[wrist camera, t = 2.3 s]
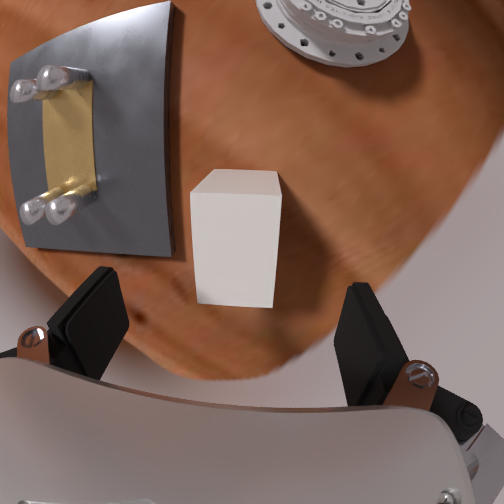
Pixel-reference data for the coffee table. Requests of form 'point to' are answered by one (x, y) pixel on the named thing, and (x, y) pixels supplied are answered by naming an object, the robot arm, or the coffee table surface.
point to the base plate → (95, 136)
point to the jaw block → (236, 237)
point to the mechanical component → (338, 28)
